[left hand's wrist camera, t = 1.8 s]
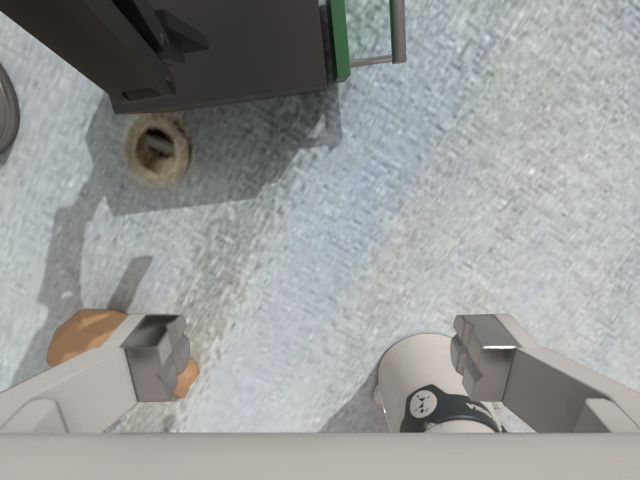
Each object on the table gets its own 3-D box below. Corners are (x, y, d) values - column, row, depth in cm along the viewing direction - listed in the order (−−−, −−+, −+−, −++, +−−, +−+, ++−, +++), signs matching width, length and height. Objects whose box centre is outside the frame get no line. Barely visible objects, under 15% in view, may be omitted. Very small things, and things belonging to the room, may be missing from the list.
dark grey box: (314, -14, 37) (311, -58, 27) (325, 90, 41) (327, 85, 31) (137, 13, 38) (72, -20, 28) (164, 112, 42) (114, 114, 32)
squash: (89, 281, 50) (57, 312, 41) (215, 338, 56) (210, 374, 48) (55, 341, 51) (17, 381, 43) (181, 389, 58) (170, 432, 49)
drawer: (390, -21, 36) (410, -59, 28) (394, 74, 39) (414, 66, 31) (166, 12, 37) (122, -14, 29) (188, 103, 40) (154, 102, 32)
